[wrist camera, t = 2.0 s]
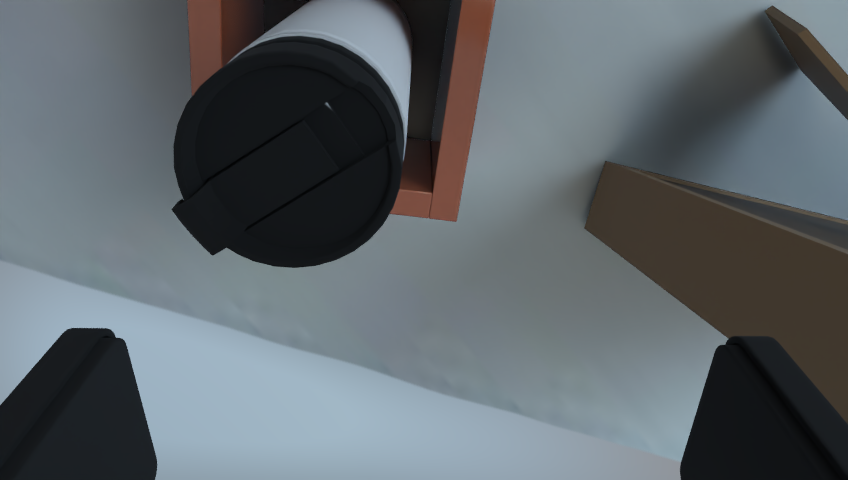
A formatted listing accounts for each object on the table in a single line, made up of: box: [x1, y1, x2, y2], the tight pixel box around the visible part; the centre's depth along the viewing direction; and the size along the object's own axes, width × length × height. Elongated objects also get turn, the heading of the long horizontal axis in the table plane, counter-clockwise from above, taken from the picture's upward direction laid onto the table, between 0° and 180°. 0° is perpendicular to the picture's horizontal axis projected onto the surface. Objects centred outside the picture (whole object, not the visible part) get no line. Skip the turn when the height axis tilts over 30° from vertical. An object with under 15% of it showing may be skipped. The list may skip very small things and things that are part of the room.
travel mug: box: [172, 0, 413, 268], centre depth 25 cm, size 6×7×20 cm
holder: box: [187, 0, 496, 222], centre depth 30 cm, size 13×13×8 cm
